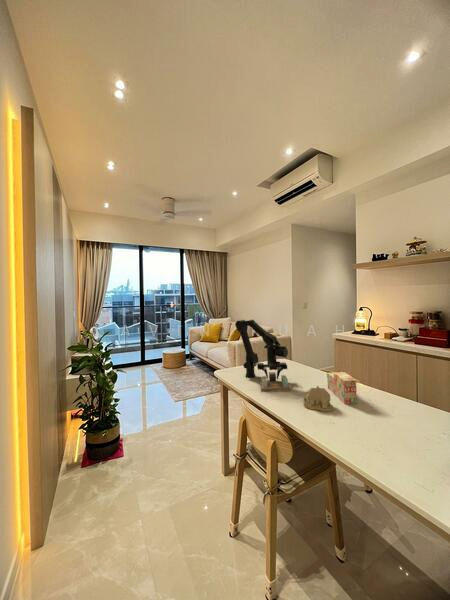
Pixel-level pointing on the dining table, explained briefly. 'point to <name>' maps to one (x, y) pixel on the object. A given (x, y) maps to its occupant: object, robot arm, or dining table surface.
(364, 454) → the dining table surface
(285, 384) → the sliding jaw
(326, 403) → the ceramic model
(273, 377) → the block
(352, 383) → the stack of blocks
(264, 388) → the vise base
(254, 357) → the robot arm
